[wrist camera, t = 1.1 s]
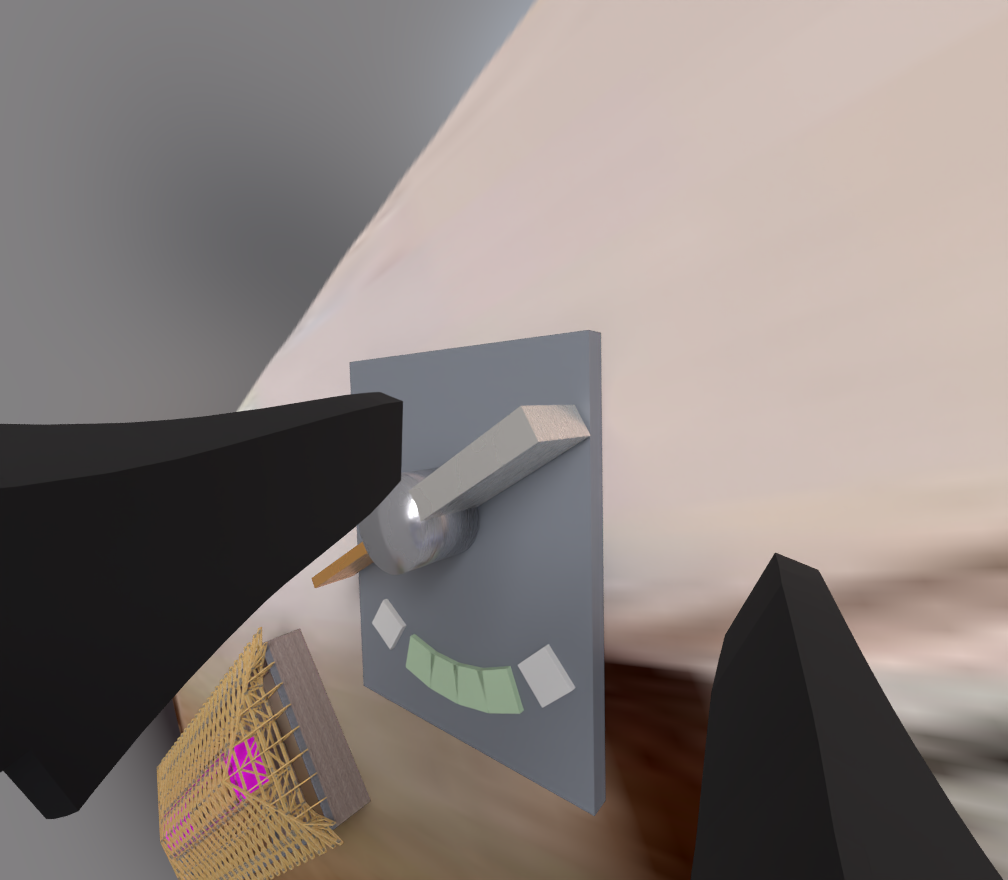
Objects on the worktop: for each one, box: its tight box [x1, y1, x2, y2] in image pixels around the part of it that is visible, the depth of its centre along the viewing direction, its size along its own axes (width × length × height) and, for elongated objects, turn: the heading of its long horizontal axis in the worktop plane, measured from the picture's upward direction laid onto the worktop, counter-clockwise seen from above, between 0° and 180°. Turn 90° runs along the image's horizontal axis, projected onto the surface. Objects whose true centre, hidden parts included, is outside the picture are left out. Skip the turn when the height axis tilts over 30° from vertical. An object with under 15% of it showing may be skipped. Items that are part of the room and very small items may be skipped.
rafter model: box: [157, 627, 371, 880], centre depth 41 cm, size 35×14×6 cm, turn 132°
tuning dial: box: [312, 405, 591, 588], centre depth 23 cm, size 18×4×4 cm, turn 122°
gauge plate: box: [350, 330, 605, 816], centre depth 25 cm, size 20×16×1 cm
